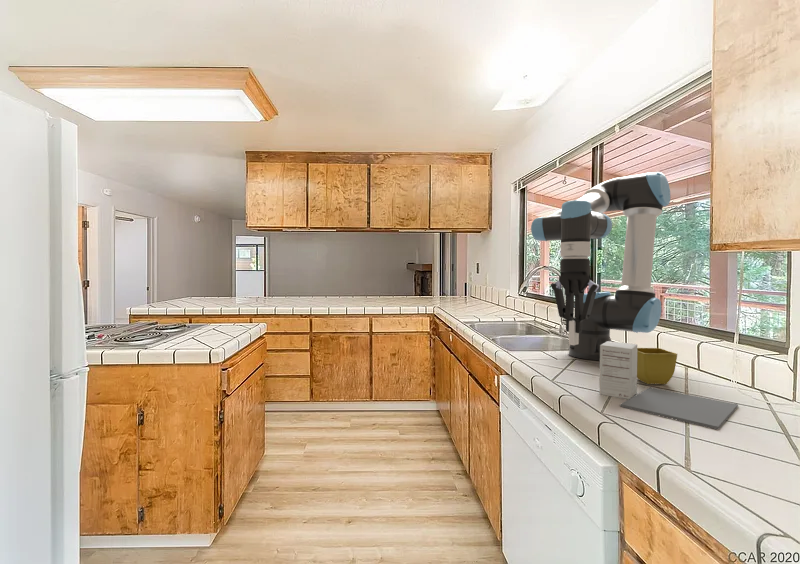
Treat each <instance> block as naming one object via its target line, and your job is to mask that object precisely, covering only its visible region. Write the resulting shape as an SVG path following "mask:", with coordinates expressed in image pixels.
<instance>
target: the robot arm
mask: <svg viewBox="0 0 800 564" xmlns="http://www.w3.org/2000/svg"><path fill="white" fill-rule="evenodd" d="M670 189H671V187H670V185H669V181H668V179H667V176H666V175H665V174H664V173H663V172H661V171H653V172H645V173H639V174H638V173H637V174H633V175H627V176H621V177H615V178H612V179H609V180H606V181H603V182H600V183H599V184H596V185H595V186H593V187H591V188H590V189H588V190H586V191H585V192H584V194H583V195H582V196H581V197H580V198H578V199H573V200H567V201H565V202H563V203H562V204H561V207H560V208H561V209H559V210H557V211H555V212H554V213H552V214H550V215H548V216H544V215H543V216H541V217H536V218H535V219H533V220H532V223H531V226H530V231H531V235H532V237H533V239H534V240H535V241H538V242H549V241H550V242H551V241H560V253H559V254H560V258H561V259H560V260H559V262H560V264H559V267H560V268H559V272H560V275H559V277H558V280H556V281H555V282H552V283H551V284H550V287H551V289H552V290H553V293H554V297H555V303H556V307H557V312H558V317H560V318H561V319H564V320H565V331H566V333H567V332H568V345H569V347H568V355H569V356H570V357H574V358H578V359H583V360H591V361H600V345H601V344H603V343H605V342H607V341H611V342H613V341H612V338H611V330H614V331H623V332H632V333H637V334H638V333H643V334H644V333H645V334H648V333H651V332H653V331H655V329H656V328H657V327H658V324H659V323H660V318H661V315H662V302H661V299H660V298H658V297H656V292H655V291H654V289H653V288H651V287H652V276H653V262H654V250H655V238H656V228H657V227H656V225H657V218H658V217H659V216H660V215H662V214H663V208H664V207H665V208H666V207H667V206H669V205H670V202H671V190H670ZM615 211H616V212H617V211H622V215H623V216H625V217H626V228H625V230H626V231H625V237H624V238H625V240H624V251H623V252H624V253H623V262H622V263H623V264H622V272H621V273H622V275H621V285H620V286H619V287H618V288H617V289H616V290H615V295H612V294H611V292H610V291H602V292H599V290H600V289H601V285H600V284H599V283H595V282H594V281H592V277H591V260H590V259H589V258H590V257H591V243H592V242H591V241H592V240H600V239H604V238H606V237H608V236H609V235H610V233H611V231H612V228H613V222H612V219H611V218H610V216H608V215H607V214H605V213H606V212H607V213H608V212H615ZM591 239H592V240H591ZM562 288H563V289H564V293H563V289H562ZM587 288H588V291H587V293H585V290H586V289H587ZM564 295H565V297H564Z"/></svg>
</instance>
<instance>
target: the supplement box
mask: <svg viewBox="0 0 800 564" xmlns="http://www.w3.org/2000/svg"><path fill="white" fill-rule="evenodd" d="M611 341H612V340H611ZM611 341H607V342H605V343H603V344H601V345H600V360H599V390H598V391H599V394H600V395H603V396H609V397H612V398H613V397H614V398H620V399H624V400H629V399H630V398H632V397H634V396H636V395H637V392H638V378H637V348H638V344H636V343H628V342H619V341H612V342H611Z"/></svg>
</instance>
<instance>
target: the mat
mask: <svg viewBox="0 0 800 564" xmlns="http://www.w3.org/2000/svg"><path fill="white" fill-rule="evenodd" d="M620 408H625V409H629V410H633V411H637V412H642V413H646V414H650V415H654V416H658V415H660V416H659V417H662V416H664V418H666V417H668V418H667V419H671V418H673V419H672V420H675V419H677V420H676V421H679V420H680V422H683V421H684V422H683V423H688V424H692V425H695V426H701V427H704V426H705V428H708V427H710V429H713V428H714V429H713V430H717V429H718V430H719V429H721V427H722V426H723V425H724V424H725V422H727V420H728V419H729V418H730V417H731V416H732V415H733V413H734V412H735V411H736V410H737V409H738V408H739V404H737V403H733V402H728V401H722V400H717V399H713V398H712V399H711V398H707V397H702V396H697V395H691V394H686V393H682V392H676V391H671V390H666V389H660V388H656V387H647V388H646V389H644V390H643V391H641V392H639V393H638V394H637V393H636V394H635V395H634V396H633V397H632V398H630V399H626V400H625V401H624V402H622V403H620Z"/></svg>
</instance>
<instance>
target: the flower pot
mask: <svg viewBox="0 0 800 564" xmlns="http://www.w3.org/2000/svg"><path fill="white" fill-rule="evenodd" d="M677 358H678V353H676V352H672V351H670V350H666V349H663V348H660V347H637V380H639V381H641V382H643V383H645V384H647V385H663V386H664V385H667V384H668V383H669V382H670V381H671V379H672V378H673V376H674V373H675V371H676V365H677V360H678V359H677Z"/></svg>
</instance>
